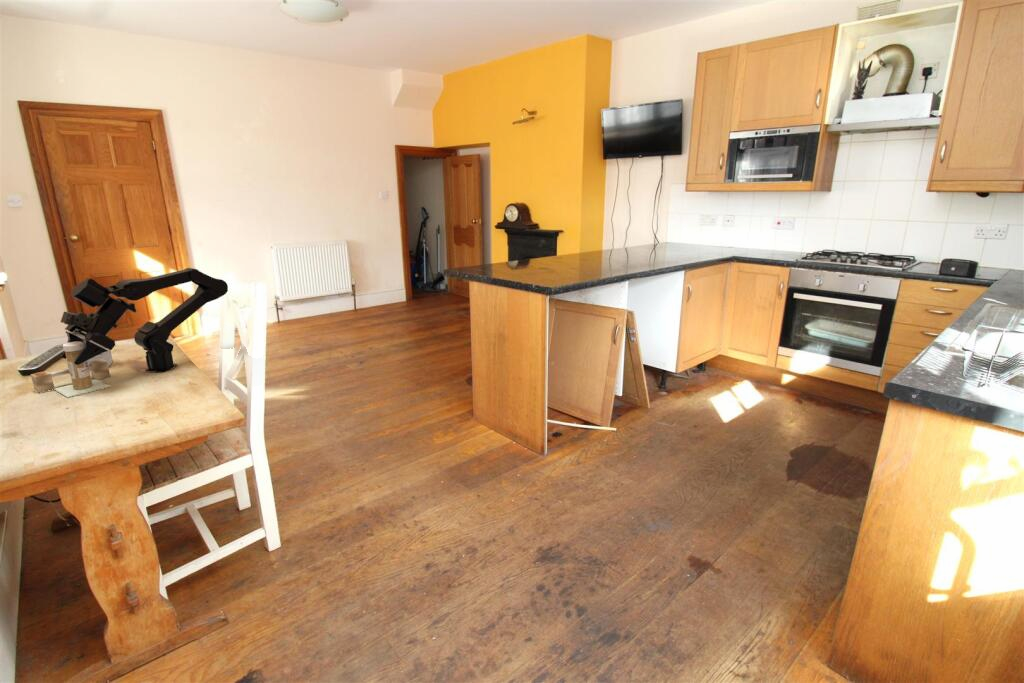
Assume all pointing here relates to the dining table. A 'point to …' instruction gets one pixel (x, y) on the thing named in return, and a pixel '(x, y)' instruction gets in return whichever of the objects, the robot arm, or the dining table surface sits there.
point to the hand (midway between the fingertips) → (69, 361)
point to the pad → (70, 391)
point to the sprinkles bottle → (77, 366)
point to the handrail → (45, 382)
